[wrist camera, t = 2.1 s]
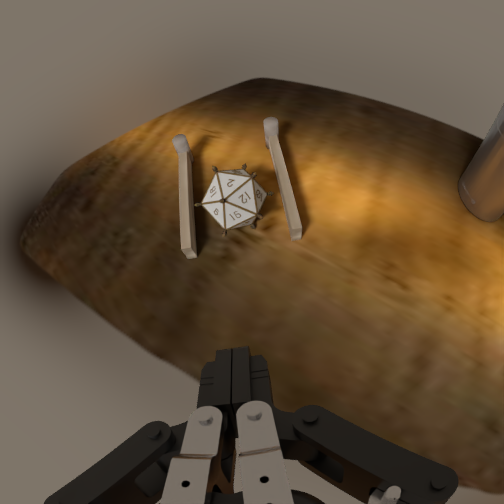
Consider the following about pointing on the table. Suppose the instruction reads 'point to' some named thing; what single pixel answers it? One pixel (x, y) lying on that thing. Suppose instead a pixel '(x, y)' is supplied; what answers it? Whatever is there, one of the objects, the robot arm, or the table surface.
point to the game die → (234, 198)
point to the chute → (187, 188)
